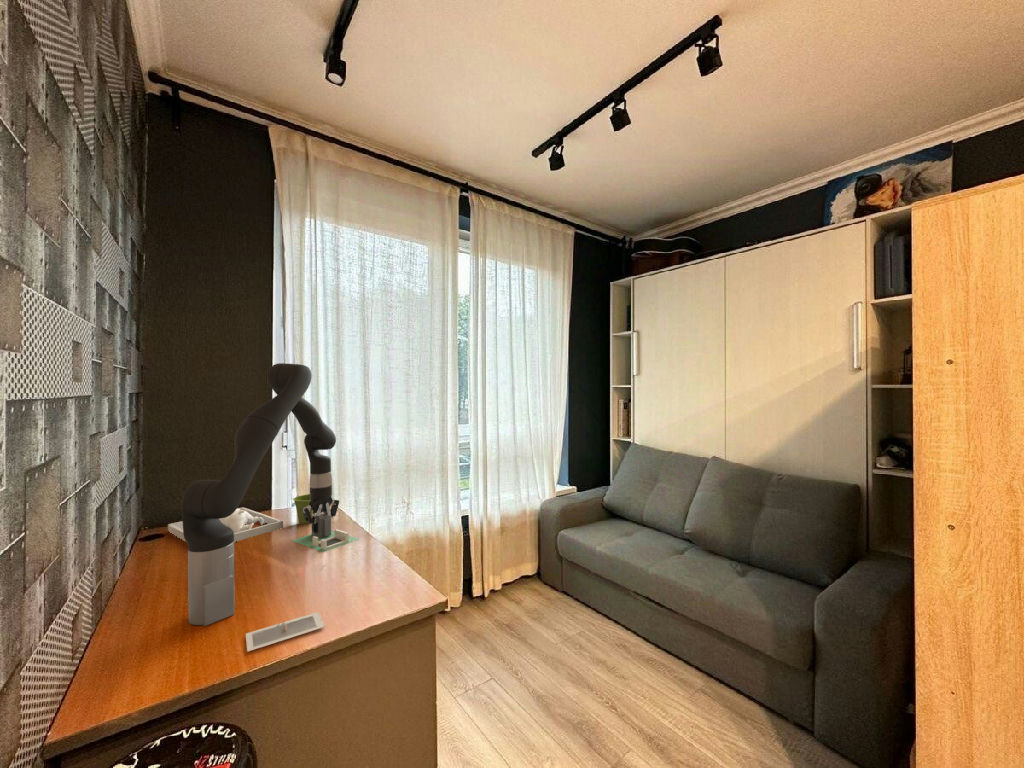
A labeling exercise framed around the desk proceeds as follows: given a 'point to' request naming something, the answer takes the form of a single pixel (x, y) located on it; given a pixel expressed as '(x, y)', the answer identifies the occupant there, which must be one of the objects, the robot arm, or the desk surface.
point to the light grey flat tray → (271, 526)
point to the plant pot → (300, 503)
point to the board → (326, 540)
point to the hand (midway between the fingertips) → (321, 530)
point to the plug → (323, 526)
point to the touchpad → (283, 631)
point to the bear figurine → (240, 520)
